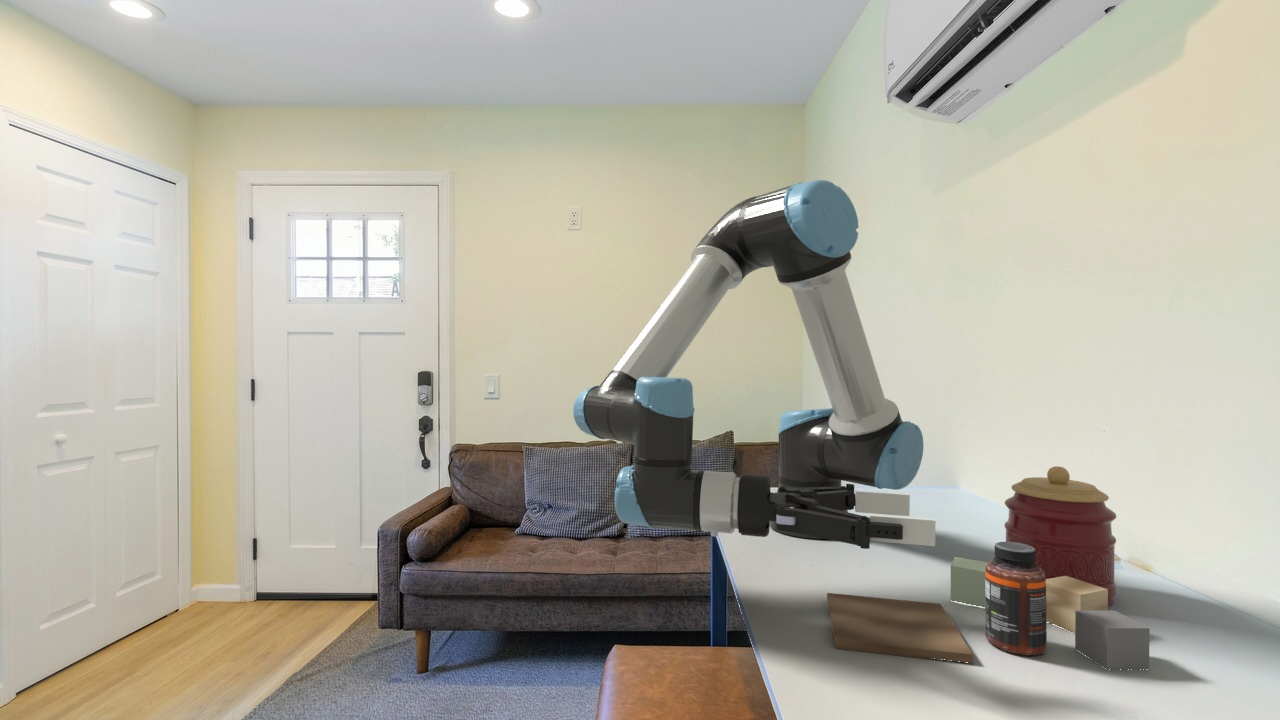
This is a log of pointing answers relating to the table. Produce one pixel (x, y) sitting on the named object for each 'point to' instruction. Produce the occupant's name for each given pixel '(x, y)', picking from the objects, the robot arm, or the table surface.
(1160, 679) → the table surface
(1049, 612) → the beech block
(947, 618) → the plate
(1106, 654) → the grey block
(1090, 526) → the canister
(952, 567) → the sage block
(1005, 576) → the supplement bottle
